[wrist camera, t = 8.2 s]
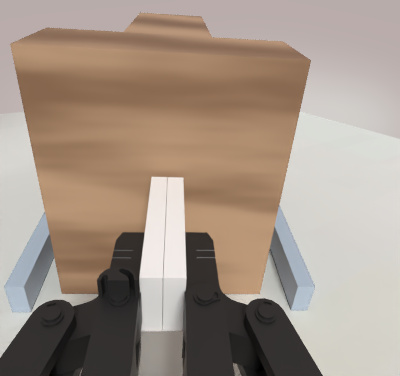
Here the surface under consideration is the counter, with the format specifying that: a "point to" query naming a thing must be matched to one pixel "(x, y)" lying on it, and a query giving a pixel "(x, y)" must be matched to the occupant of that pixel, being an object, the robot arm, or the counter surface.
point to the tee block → (159, 138)
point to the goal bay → (43, 256)
